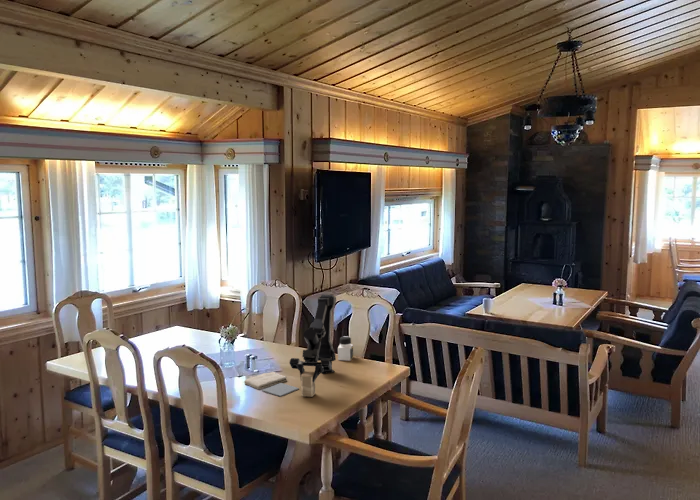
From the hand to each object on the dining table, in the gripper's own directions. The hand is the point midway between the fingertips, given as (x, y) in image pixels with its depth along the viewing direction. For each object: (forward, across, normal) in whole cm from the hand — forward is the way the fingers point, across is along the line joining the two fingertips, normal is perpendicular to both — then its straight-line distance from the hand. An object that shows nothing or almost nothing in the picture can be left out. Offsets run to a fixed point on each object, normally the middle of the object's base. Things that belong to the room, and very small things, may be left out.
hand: (307, 381), depth 265 cm
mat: (+1, -15, +9) cm, 17 cm away
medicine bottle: (-35, +5, +46) cm, 58 cm away
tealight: (+4, 0, +6) cm, 7 cm away
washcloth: (-5, -25, +16) cm, 30 cm away
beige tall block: (+4, 0, +6) cm, 7 cm away
